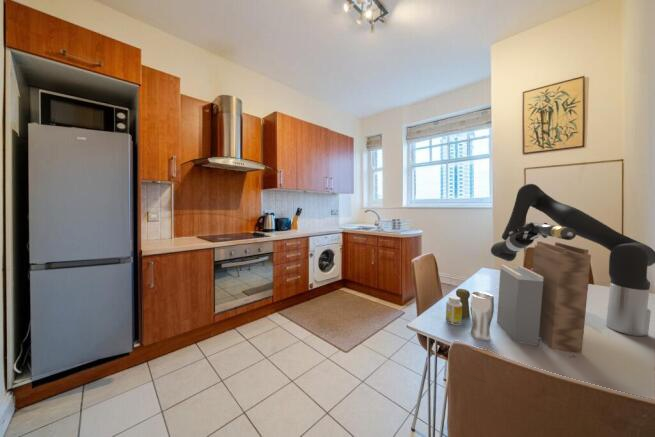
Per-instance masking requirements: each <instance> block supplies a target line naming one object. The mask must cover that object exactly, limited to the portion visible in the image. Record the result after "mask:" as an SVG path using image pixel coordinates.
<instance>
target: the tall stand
mask: <svg viewBox="0 0 655 437" xmlns="http://www.w3.org/2000/svg"><path fill="white" fill-rule="evenodd" d="M591 259H592V254H589V249H588V248H587V249H586V248H582V247H578V246H574V245H570V244H565V243H562V242H556V241H555V242H554V244H550V243H547V242H543V241H536V244H535V245H534V250H533V264H532V271H533V272H535V273H537V274H539V275H541V276H543V290H542V302H541V315H540V328H539V340H541V341H542V342H543V343H544V344H545V345H546V346H547V347H549V348H550V349H551V350H554V351H560V352H561V351H562V352H569V353H575V354H576V353H577V354H582V353H583V344H584V335H585V334H584V332H585V324H586V323H585V321H586V311H587V301H588V293H589V292H588V290H589V279H590V271H591V270H590V269H591Z"/></svg>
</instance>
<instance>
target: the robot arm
mask: <svg viewBox="0 0 655 437" xmlns="http://www.w3.org/2000/svg"><path fill="white" fill-rule="evenodd" d="M514 201H515V202H514V205H513V207H512V208H513V209H512V212H511V215H510V216H509V219H508V222H507V223H506V226H505V229H504V231H503V233H502V235H501V239H502V241H499V242H496V243H494V244H493V245H492V246H491V248H490V253H491V255H492V256H494V257H497V258H499V259H502V260H504V261H507V262H512V261H514V260H515V259H516V257H517V253H518V252H520V251H522V250H524V249H526V248H527V247H528V246H530V245H531V244H533V243H534V241H535V239H538V238H540V237H542V238H543V239H547V238H548V236H547V235H542V234H538V233H533V232H529V231H530V230H532V229H533V228H534V223H535V222H533V223H530V224H528V225H526V220H527V214H528V211H529V210H530V207H532V208H534V209H535V210H538V211H539V212H542V213H543V214H545V215H546V216H547V217H549V218H550V219H551V220H552V221H553V222H555V223H556V224H558V226H561V227H568V228H572V229H574V230H575V231H576V236H578V237H580V238H583V239H585V240H588V241H591V242H593V243H595V244H597V245H600V246H602V247H603V248H605V249H607V250H609V251H610V253H609V260H608V275H609V278H610V284H609V295H608V303H607V313H606V324H605V326H606V327H608V328H609V329H611V330H613V331H616V332H619V333H623V334H626V335H629V336H634V337H644V336H649V330H650V321H651V313H652V311H651V310H650V309H648V308H649V300H650V298H649V296H650V287H651V282H650V281H649V280H648V267H650V266H652V265H654V264H655V250H654V249H653V248H652V247H650V246H649V245H647V244H645V243H642V242H641V241H638V240H635V239H634V238H631V237H629V236H627V235H624V234H622V233H620V232H618V231H616V230H615V229H613V228H611V227H610V226H608V225H607V224H605V223H604V222H602V221H599V219H596V218H595V217H593V216H591V215H590V214H588V213H586V212H584V211H582V210H580V209H578V208H576V207H573V206H571V205H568V204H566V203H562V202H560V201H557V200H556V199H554V198H552V197H551V196H549V194H547V193H546V192H544V191H543V190H542V189H541V188H540V187H539V185H537V184H533V183H527V184H524V185H522V186H521V187H520V188H519V189H518V190H517V194H516V197H515V200H514ZM543 224H547V225H549V223H547V222H544V223H543Z"/></svg>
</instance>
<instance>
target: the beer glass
mask: <svg viewBox="0 0 655 437" xmlns="http://www.w3.org/2000/svg"><path fill="white" fill-rule="evenodd" d="M494 298H495V297H494V295H492V294H490V293H487V292H484V291H483V292H482V291H473V292H472V293H471V298H470V317H471V321H472V323H471V324H472V325H471V330H470V336H472V337H473V338H475V339H477V340H481V341H489V340H491V333H490V332H491V330H490V329H491V324H492V319H493V317H494V312H495V299H494Z"/></svg>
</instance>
